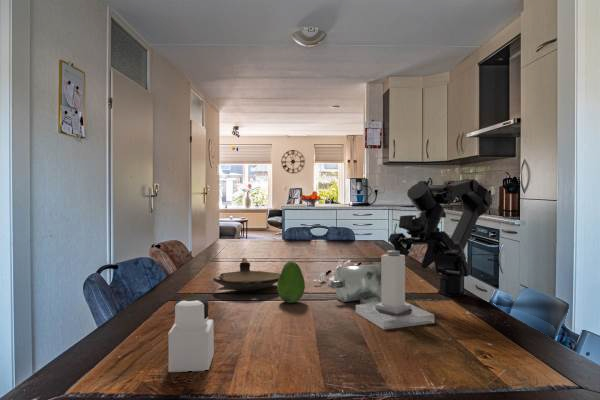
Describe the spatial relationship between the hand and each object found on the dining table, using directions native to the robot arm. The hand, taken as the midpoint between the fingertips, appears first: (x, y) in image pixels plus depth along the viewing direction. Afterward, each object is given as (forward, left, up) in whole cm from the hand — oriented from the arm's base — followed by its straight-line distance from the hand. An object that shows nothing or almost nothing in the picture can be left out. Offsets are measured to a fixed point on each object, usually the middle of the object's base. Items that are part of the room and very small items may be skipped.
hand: (408, 267), depth 107 cm
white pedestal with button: (+8, +5, -9) cm, 13 cm away
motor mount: (+9, -3, -11) cm, 15 cm away
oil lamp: (+35, -39, -12) cm, 54 cm away
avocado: (+28, -17, -12) cm, 35 cm away
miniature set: (-2, -43, -12) cm, 44 cm away
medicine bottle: (+58, +16, -12) cm, 61 cm away
